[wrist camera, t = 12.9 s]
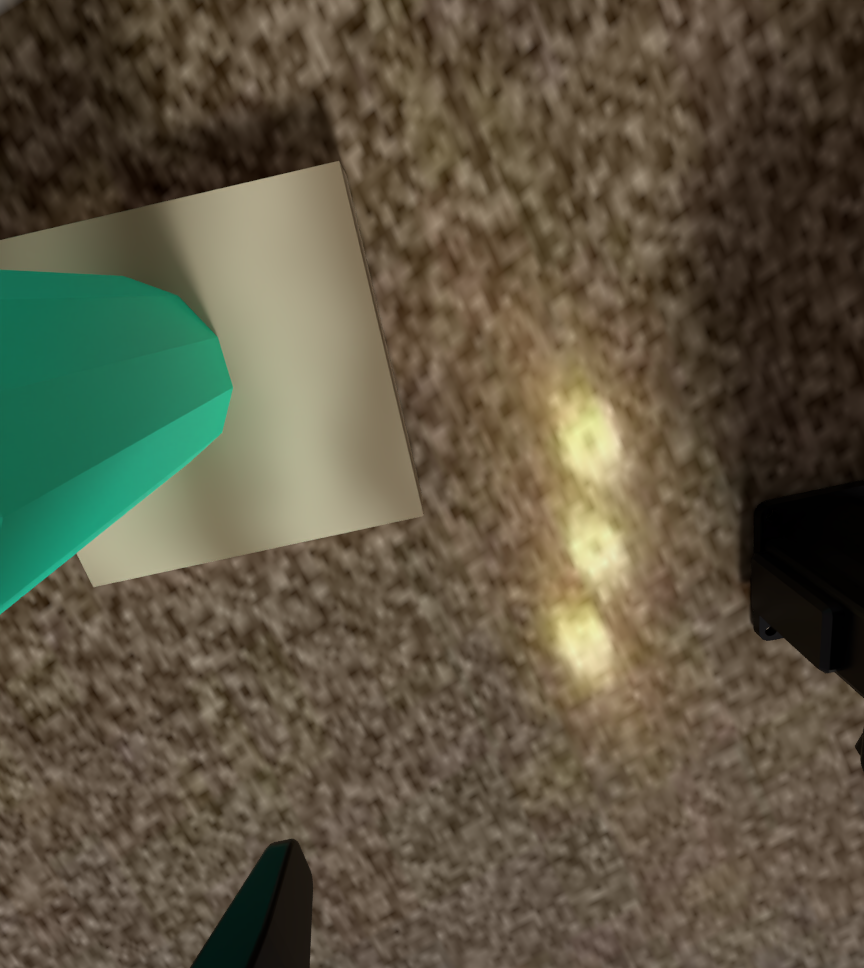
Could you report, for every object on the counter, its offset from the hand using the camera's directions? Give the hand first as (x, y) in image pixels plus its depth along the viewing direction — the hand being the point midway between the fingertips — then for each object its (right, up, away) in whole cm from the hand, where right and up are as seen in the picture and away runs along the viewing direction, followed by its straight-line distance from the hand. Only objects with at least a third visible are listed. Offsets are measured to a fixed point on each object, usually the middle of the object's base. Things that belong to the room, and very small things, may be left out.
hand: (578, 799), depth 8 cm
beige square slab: (-10, +8, +10) cm, 16 cm away
